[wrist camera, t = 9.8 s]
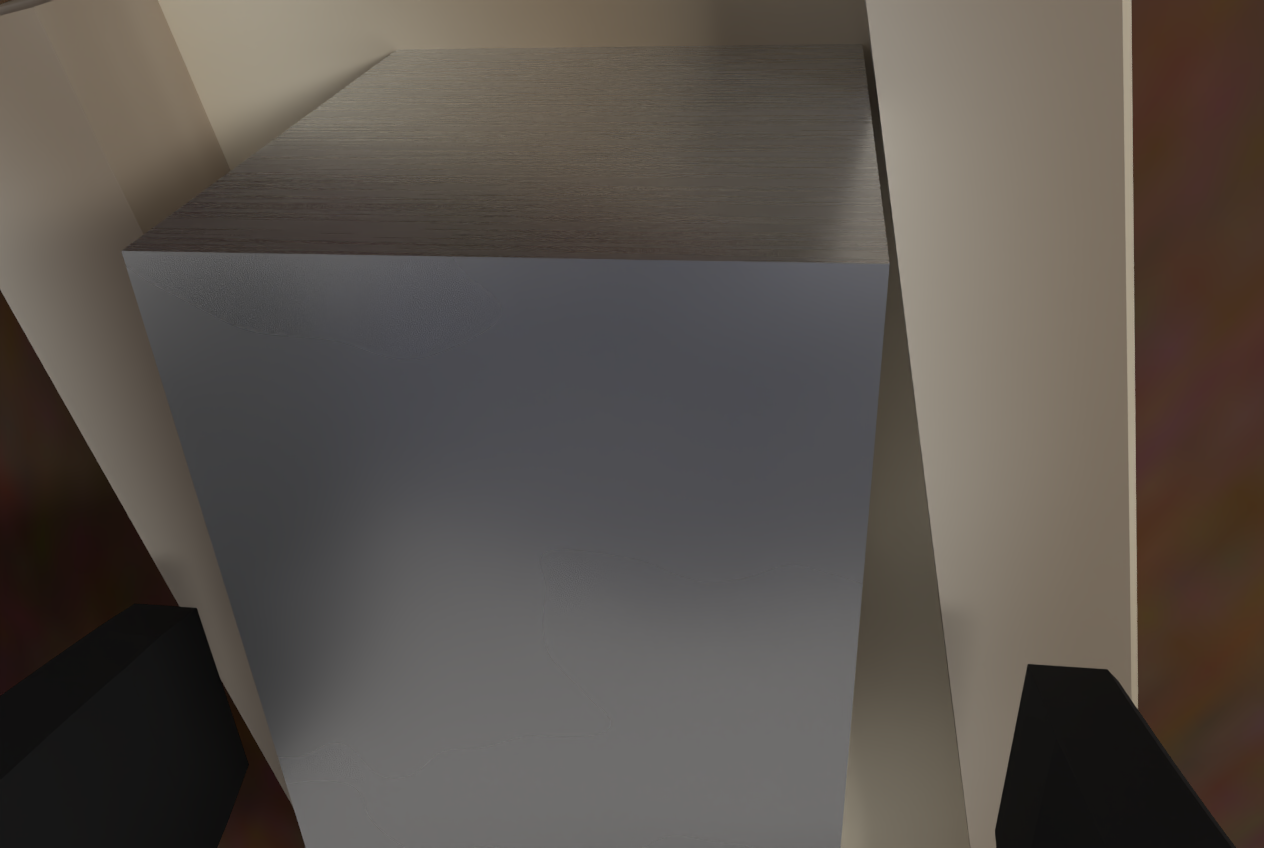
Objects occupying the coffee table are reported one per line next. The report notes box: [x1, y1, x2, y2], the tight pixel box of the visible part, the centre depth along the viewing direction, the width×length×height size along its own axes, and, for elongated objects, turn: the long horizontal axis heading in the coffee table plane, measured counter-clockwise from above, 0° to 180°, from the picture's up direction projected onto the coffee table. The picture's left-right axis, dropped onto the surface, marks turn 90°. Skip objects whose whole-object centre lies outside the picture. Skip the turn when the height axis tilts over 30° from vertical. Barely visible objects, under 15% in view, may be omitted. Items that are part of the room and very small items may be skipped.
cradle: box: [0, 0, 1138, 848], centre depth 12 cm, size 10×13×3 cm
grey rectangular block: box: [121, 44, 890, 848], centre depth 10 cm, size 4×10×4 cm, turn 2°
